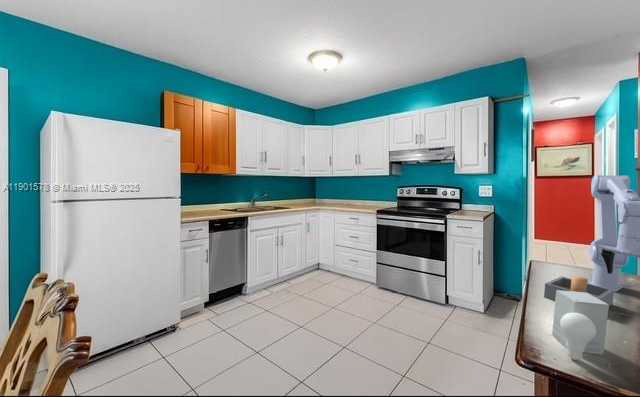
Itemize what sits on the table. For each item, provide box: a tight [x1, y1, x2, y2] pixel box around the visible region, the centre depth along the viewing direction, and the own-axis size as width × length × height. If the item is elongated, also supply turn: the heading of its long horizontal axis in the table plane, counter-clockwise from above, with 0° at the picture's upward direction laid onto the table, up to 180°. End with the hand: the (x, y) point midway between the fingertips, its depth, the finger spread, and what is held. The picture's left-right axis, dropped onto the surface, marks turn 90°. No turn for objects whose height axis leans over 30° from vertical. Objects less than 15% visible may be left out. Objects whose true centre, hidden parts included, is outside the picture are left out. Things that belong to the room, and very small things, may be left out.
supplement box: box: [551, 290, 610, 355], centre depth 71 cm, size 7×7×13 cm
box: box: [543, 276, 615, 308], centre depth 96 cm, size 14×14×5 cm
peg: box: [571, 275, 589, 293], centre depth 96 cm, size 4×4×8 cm
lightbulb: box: [560, 313, 596, 361], centre depth 65 cm, size 6×6×11 cm
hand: (625, 276), depth 94 cm, fingers open, 7 cm apart
